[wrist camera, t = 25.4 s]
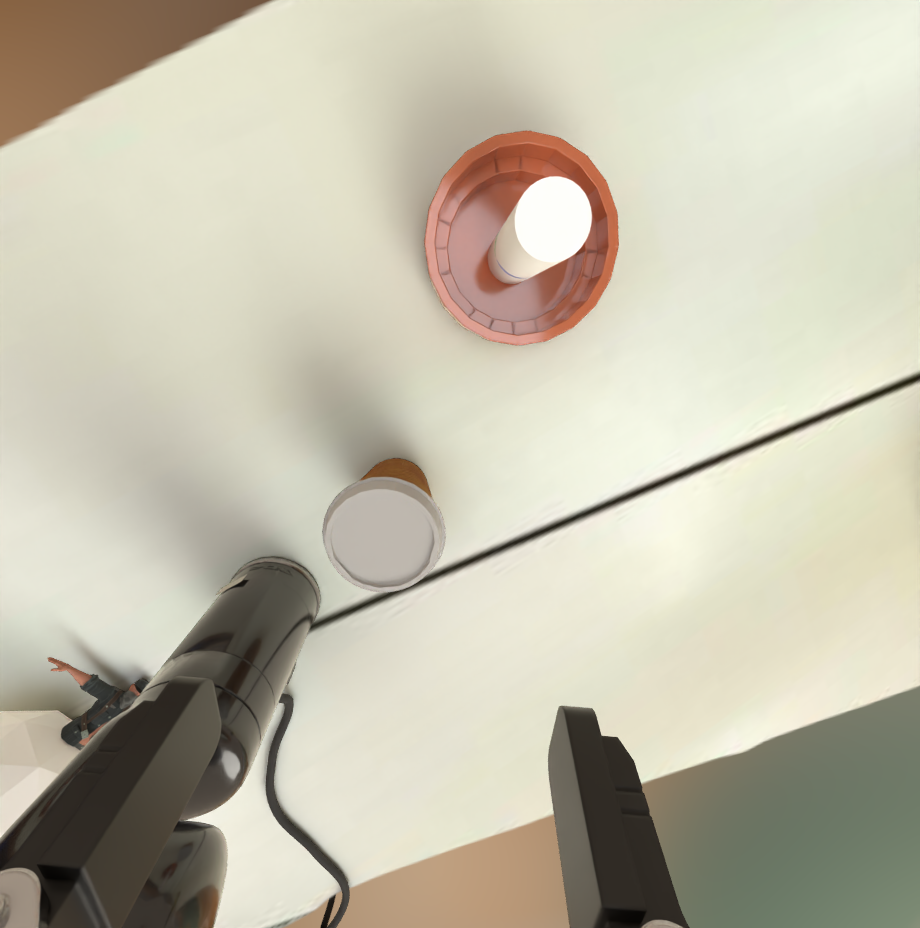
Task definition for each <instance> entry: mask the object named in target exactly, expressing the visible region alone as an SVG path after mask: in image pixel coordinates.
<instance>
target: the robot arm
mask: <svg viewBox="0 0 920 928" xmlns="http://www.w3.org/2000/svg"><path fill="white" fill-rule="evenodd" d="M221 592H222V593H221ZM219 593H221V594H220V595H219V597H218V598H217V599H216V600H215V602H214V603H213V604H212V605H211V606H210V608H209V609H208V610H207V611H206V613H205V614H204V615H203V616H202V618H201V619H200V620H199V621H198V623H197V624H196V625H195V626H194V628H193V629H192V630H191V631H190V633H189V634H188V635H187V636H186V637H185V639H184V640H183V641H182V642H181V644H180V645H179V646H178V647H177V649H176V650H175V651H174V652H173V654H172V655H171V656H170V657H169V659H168V660H167V661H166V662H165V663H164V665H163V666H162V667H161V669H160V670H159V671H158V672H157V674H156V675H155V676H154V677H153V679H152V680H151V681H150V682H149V684H148V685H147V686H146V687H145V689H144V690H143V691H142V692H141V693H140V695H139V696H138V697H137V698H136V700H135V701H134V702H133V703H132V704H131V706H130V707H129V708H128V709H127V710H126V711H124V712H122V713H121V714H119V715H117V716H116V717H114V718H113V719H111V720H110V721H109V722H108V723H106V724H105V725H104V726H103V727H102V728H101V729H100V730H99V731H98V732H97V733H96V734H95V735H94V736H93V737H92V738H91V739H90V740H89V742H88V743H87V744H86V745H85V746H84V747H83V748H82V749H81V751H80V752H79V753H78V754H77V755H76V756H75V757H74V758H73V759H72V760H71V762H70V763H69V764H68V765H67V766H66V767H65V768H64V769H63V770H62V771H61V772H60V774H59V775H58V776H57V777H56V778H55V779H54V780H53V781H52V782H51V783H50V784H49V785H48V786H47V788H46V789H45V790H44V791H43V792H42V793H41V794H40V795H39V796H38V797H37V798H36V799H35V800H34V801H33V803H32V804H31V805H30V806H29V807H28V808H27V809H26V810H25V811H24V812H23V813H22V814H21V815H20V816H19V818H18V819H17V820H16V821H15V822H14V823H13V824H12V825H11V826H10V827H9V828H8V829H7V831H6V832H5V833H4V834H3V835H2V836H1V837H0V928H214V924H215V921H216V917H217V913H218V909H219V905H220V902H221V897H222V893H223V888H224V882H225V877H226V871H227V858H228V853H227V844H226V839H225V837H224V835H223V833H222V832H221V830H220V829H219V828H217V827H215V826H214V825H210V824H206V823H201V822H193V821H185V820H188V819H192V818H195V817H198V816H201V815H203V814H206V813H208V812H210V811H212V810H214V809H216V808H218V807H219V806H221V805H223V804H224V803H225V802H227V801H228V800H229V799H230V798H231V797H232V796H233V795H234V794H235V793H236V792H237V791H238V790H239V788H240V787H241V786H242V784H243V782H244V781H245V779H246V777H247V775H248V773H249V771H250V769H251V766H252V764H253V762H254V759H255V757H256V755H257V752H258V749H259V747H260V745H261V742H262V740H263V738H264V735H265V733H266V731H267V728H268V726H269V724H270V721H271V719H272V716H273V714H274V711H275V709H276V707H277V704H278V703H284V704H285V710H284V714H283V717H282V720H281V722H280V724H279V727H278V729H277V731H276V734H275V736H274V739H273V741H272V744H271V748H270V752H269V757H268V765H267V774H266V795H267V800H268V803H269V806H270V809H271V811H272V813H273V815H274V817H275V818H276V820H277V821H278V822H279V824H280V825H281V826H282V827H283V828H284V829H285V830H286V831H287V832H288V833H289V834H290V835H291V836H292V837H294V838H295V839H296V840H297V841H298V842H299V843H300V844H302V845H303V846H304V847H305V848H306V849H307V850H308V851H309V852H310V853H311V855H312V856H313V857H314V858H315V859H316V860H317V861H318V862H319V863H320V864H321V865H322V866H323V867H324V868H325V869H326V870H327V871H328V872H329V873H330V874H331V875H332V876H333V877H334V878H335V879H336V880H337V882H338V883H339V885H340V887H341V889H342V893H343V897H342V902H341V905H340V908H339V910H338V912H337V914H336V916H335V917H334V919H333V920H332V922H331V923H330V924H329V926H328V922H329V919H330V915H331V912H332V909H333V905H334V902H335V897H336V894H335V895H333V896H332V897H330V898H329V901H328V904H327V908H326V911H325V914H324V917H323V920H322V923H321V927H320V928H336V927H337V925H338V924H339V922H340V921H341V919H342V917H343V915H344V913H345V911H346V909H347V906H348V902H349V896H350V895H349V886H348V882H347V880H346V878H345V877H344V875H343V874H342V873H341V871H340V870H339V869H338V868H337V867H336V866H335V865H334V864H333V863H332V862H331V861H330V860H329V859H328V858H327V857H325V855H324V854H323V853H322V852H321V851H320V850H319V849H318V848H317V847H316V845H315V844H314V843H313V842H312V841H311V840H310V839H309V838H308V837H306V836H305V835H304V834H303V833H302V832H301V831H300V830H298V829H297V828H296V827H295V826H294V825H293V824H292V823H291V822H290V821H289V820H288V819H287V818H286V816H285V815H284V814H283V812H282V810H281V808H280V806H279V804H278V802H277V799H276V796H275V791H274V773H275V766H276V758H277V753H278V749H279V746H280V743H281V740H282V738H283V735H284V733H285V731H286V729H287V726H288V724H289V721H290V719H291V716H292V712H293V699H292V697H291V696H290V695H287V694H282V693H283V690H284V688H285V686H286V684H288V683H289V681H290V679H291V676H292V674H293V671H294V669H295V665H296V660H297V657H298V655H299V653H300V650H301V648H302V646H303V643H304V641H305V639H306V637H307V634H308V632H309V630H310V627H311V625H312V623H313V621H314V620H315V618H316V616H317V613H318V611H319V608H320V600H321V598H320V591H319V588H318V585H317V583H316V581H315V580H314V578H313V577H312V576H311V575H310V573H309V572H308V571H307V570H305V569H304V568H303V567H301V566H300V565H298V564H296V563H294V562H292V561H289V560H286V559H282V558H275V557H267V558H260V559H257V560H254V561H251V562H249V563H247V564H246V565H244V566H243V567H242V568H241V569H240V570H239V571H238V572H237V573H236V574H235V576H234V577H233V578H232V580H231V581H230V583H229V584H228V585H226V586H224V587H223V588H221V589H220V590H219V592H218V593H217V594H216V595H218V594H219ZM216 595H215V596H216ZM548 771H549V781H550V789H551V796H552V803H553V810H554V817H555V824H556V831H557V837H558V838H557V839H558V846H559V853H560V860H561V867H562V874H563V882H564V889H565V895H566V903H567V910H568V917H569V924H570V928H689V926H688V924H687V923H686V920H685V918H684V916H683V914H682V911H681V909H680V906H679V904H678V900H677V897H676V894H675V890H674V887H673V884H672V881H671V878H670V875H669V871H668V868H667V865H666V862H665V858H664V855H663V852H662V849H661V846H660V843H659V839H658V836H657V833H656V830H655V827H654V823H653V820H652V817H651V816H650V814H649V808H648V804H647V801H646V798H645V795H644V793H643V792H642V785H641V782H640V779H639V776H638V772H637V769H636V766H635V763H634V760H633V759H632V757H631V756H630V755H629V753H628V752H627V750H626V749H625V747H624V746H623V744H622V743H621V742H620V740H619V739H618V737H609V736H601V732H600V729H599V725H598V721H597V717H596V714H595V712H594V710H593V709H592V708H582V707H569V706H560V707H559V708H558V712H557V716H556V721H555V725H554V729H553V734H552V738H551V742H550V747H549V754H548ZM327 926H328V927H327Z"/></svg>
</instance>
